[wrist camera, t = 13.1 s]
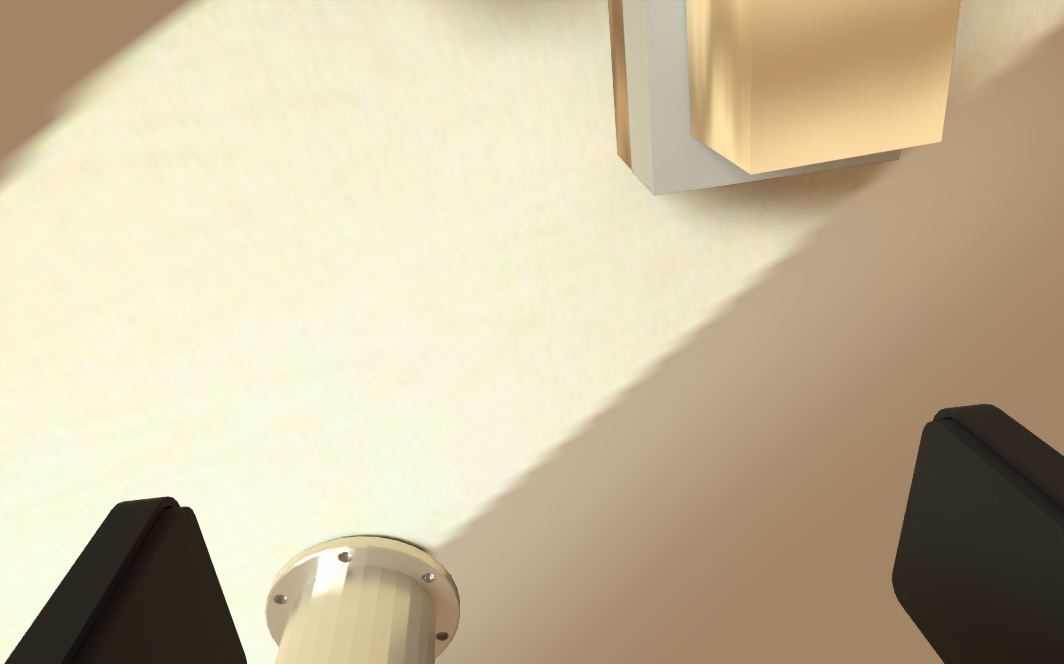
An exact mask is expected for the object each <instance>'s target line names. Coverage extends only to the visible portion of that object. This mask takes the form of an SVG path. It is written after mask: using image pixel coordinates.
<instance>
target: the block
mask: <svg viewBox="0 0 1064 664" xmlns="http://www.w3.org/2000/svg"><path fill="white" fill-rule="evenodd" d="M960 1H961V0H686V10H687V39H688V67H689V96H690V124H691V136H693V137H695V138H696V139H698V140H699V141H701V142H702V143H704V144H705V145H707V146H708V147H710V148H711V149H713V150H714V151H716V152H717V153H719V154H720V155H722V156H723V157H725V158H726V159H728V160H729V161H731V162H732V163H734V164H735V165H737V166H739V167H740V168H742V169H743V170H745V171H746V172H748V173H749V174H751V175H752V174H758V173H764V172H769V171H775V170H781V169H787V168H793V167H798V166H804V165H810V164H816V163H821V162H827V161H833V160H839V159H844V158H850V157H856V156H862V155H868V154H873V153H879V152H885V151H891V150H896V149H902V148H908V147H914V146H919V145H925V144H931V143H937V142H941V140H942V133H943V126H944V119H945V111H946V104H947V96H948V89H949V82H950V74H951V67H952V60H953V52H954V45H955V37H956V30H957V23H958V15H959V8H960Z"/></svg>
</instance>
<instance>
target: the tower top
mask: <svg viewBox="0 0 1064 664" xmlns="http://www.w3.org/2000/svg"><path fill="white" fill-rule="evenodd" d="M622 3H623V21H624V39H625V56H626V74H627V92H628V109H629V127H630V145H631V162H632V172H633V173H634V174H635V176H636V177H637V178H638V179H639V180H640V181H641V182H642V183H643V184H644V185H645V187H646V188H647V189H648V190H649V191H650V192H651V193H652V194H653V195H654V196H655V195H662V194H669V193H676V192H682V191H689V190H696V189H703V188H710V187H716V186H723V185H730V184H737V183H744V182H751V181H757V180H764V179H771V178H778V177H785V176H791V175H798V174H805V173H812V172H819V171H826V170H832V169H839V168H846V167H853V166H860V165H866V164H873V163H880V162H887V161H894V160H899V155H900V149H896V150H891V151H885V152H879V153H873V154H868V155H862V156H856V157H850V158H844V159H839V160H833V161H827V162H821V163H816V164H810V165H804V166H798V167H793V168H787V169H781V170H775V171H769V172H764V173H758V174H752V175H751V174H749V173H748V172H746V171H745V170H743V169H742V168H740V167H739V166H737V165H735V164H734V163H732V162H731V161H729V160H728V159H726V158H725V157H723V156H722V155H720V154H719V153H717V152H716V151H714V150H713V149H711V148H710V147H708V146H707V145H705V144H704V143H702V142H701V141H699V140H698V139H696V138H695V137H693V136H691V124H690V96H689V67H688V39H687V10H686V0H622Z"/></svg>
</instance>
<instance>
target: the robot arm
mask: <svg viewBox="0 0 1064 664" xmlns="http://www.w3.org/2000/svg"><path fill="white" fill-rule="evenodd" d="M892 583H893V588H894V592H895V594H896V597H897V599H898V601H899V602H900V604H901V605H902V607H903V608H904V610H905V611H906V612H907V613H908V615H909V616H910V617H911V619H912V620H913V622H914V623H915V624H916V625H917V627H918V628H919V630H920V631H921V632H922V634H923V635H924V636H925V638H926V639H927V640H928V642H929V643H930V644H931V646H932V647H933V649H934V650H935V651H936V653H937V654H938V655H939V657H940V658H941V659H942V661H943V662H944V663H945V664H1064V456H1063V455H1061V454H1060V453H1059V452H1057V451H1056V450H1054V449H1053V448H1052V447H1050V446H1049V445H1048V444H1046V443H1045V442H1044V441H1042V440H1041V439H1040V438H1038V437H1037V436H1035V435H1034V434H1033V433H1031V432H1030V431H1029V430H1027V429H1026V428H1025V427H1023V426H1022V425H1021V424H1019V423H1018V422H1016V421H1015V420H1014V419H1013V418H1011V417H1010V416H1008V415H1007V414H1006V413H1004V412H1003V411H1002V410H1000V409H999V408H997V407H995V406H993V405H989V404H980V405H971V406H962V407H953V408H945V409H943V410H940V411H939V412H938V413H937V414H936V415H935V417H934V419H933V421H932V422H929V423H927V424H926V426H925V427H924V429H923V432H922V437H921V441H920V446H919V451H918V456H917V460H916V465H915V470H914V474H913V479H912V484H911V488H910V493H909V498H908V502H907V507H906V512H905V516H904V521H903V526H902V530H901V535H900V540H899V545H898V549H897V554H896V559H895V563H894V568H893V573H892ZM265 615H266V623H267V627H268V629H269V632H270V634H271V637H272V638H273V640H274V641H275V642H276V644H277V645H278V647H279V650H278V654H277V657H276V661H275V664H434V661H435V658H436V657H437V656H438V655H439V654H440V653H442V652H443V651H444V650H445V648H446V647H447V646H448V645H449V643H450V642H451V641H452V639H453V637H454V635H455V633H456V630H457V628H458V623H459V617H460V600H459V595H458V590H457V587H456V585H455V583H454V581H453V579H452V577H451V575H450V574H449V573H448V572H447V570H446V569H445V568H444V567H443V566H442V565H441V564H440V563H439V562H438V561H437V560H435V559H434V558H433V557H432V556H430V555H429V554H427V553H425V552H423V551H422V550H420V549H418V548H416V547H414V546H411V545H408V544H405V543H403V542H400V541H397V540H391V539H386V538H380V537H363V536H357V537H348V538H339V539H335V540H331V541H327V542H323V543H320V544H318V545H316V546H313V547H311V548H309V549H307V550H305V551H303V552H302V553H300V554H299V555H297V556H296V557H294V558H293V559H291V560H290V561H289V562H288V563H287V564H286V565H285V566H284V567H283V568H282V569H281V570H280V572H279V573H278V575H277V576H276V578H275V580H274V581H273V583H272V586H271V589H270V592H269V595H268V598H267V603H266V609H265ZM5 664H247V660H246V656H245V653H244V650H243V647H242V645H241V642H240V639H239V636H238V633H237V631H236V628H235V625H234V622H233V619H232V617H231V614H230V611H229V608H228V605H227V603H226V600H225V597H224V594H223V591H222V589H221V586H220V583H219V580H218V578H217V575H216V572H215V569H214V566H213V564H212V561H211V558H210V555H209V552H208V550H207V547H206V544H205V541H204V538H203V536H202V533H201V530H200V527H199V524H198V522H197V519H196V516H195V514H194V512H193V510H192V509H191V508H190V507H180V506H179V504H178V502H177V501H176V500H175V499H174V498H172V497H160V498H151V499H142V500H133V501H124V502H121V503H119V504H117V505H116V506H115V507H114V508H113V509H112V510H111V511H110V513H109V514H108V516H107V517H106V519H105V520H104V521H103V523H102V524H101V526H100V527H99V529H98V530H97V531H96V533H95V534H94V536H93V537H92V539H91V540H90V541H89V543H88V544H87V546H86V547H85V549H84V550H83V552H82V553H81V554H80V556H79V557H78V559H77V560H76V562H75V563H74V564H73V566H72V567H71V569H70V570H69V572H68V573H67V575H66V576H65V577H64V579H63V580H62V582H61V583H60V585H59V586H58V587H57V589H56V590H55V592H54V593H53V595H52V596H51V597H50V599H49V600H48V602H47V603H46V605H45V606H44V608H43V609H42V610H41V612H40V613H39V615H38V616H37V618H36V619H35V620H34V622H33V623H32V625H31V626H30V628H29V629H28V631H27V632H26V633H25V635H24V636H23V638H22V639H21V641H20V642H19V643H18V645H17V646H16V648H15V649H14V651H13V652H12V653H11V655H10V656H9V658H8V659H7V661H6V662H5Z"/></svg>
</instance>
